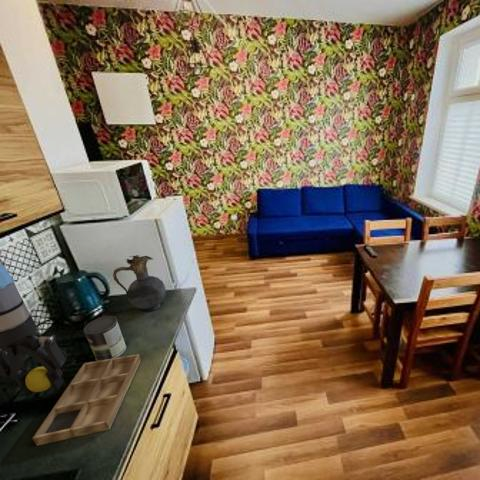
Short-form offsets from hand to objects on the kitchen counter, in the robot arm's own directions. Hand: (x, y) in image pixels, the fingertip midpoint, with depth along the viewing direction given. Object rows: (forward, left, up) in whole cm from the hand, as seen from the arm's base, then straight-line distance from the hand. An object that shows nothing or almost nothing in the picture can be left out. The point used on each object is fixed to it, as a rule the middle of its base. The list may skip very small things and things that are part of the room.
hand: (46, 388), depth 75 cm
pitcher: (+5, +58, -16) cm, 60 cm away
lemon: (0, 0, -1) cm, 1 cm away
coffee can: (0, +30, -16) cm, 34 cm away
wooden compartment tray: (+4, +9, -16) cm, 19 cm away
